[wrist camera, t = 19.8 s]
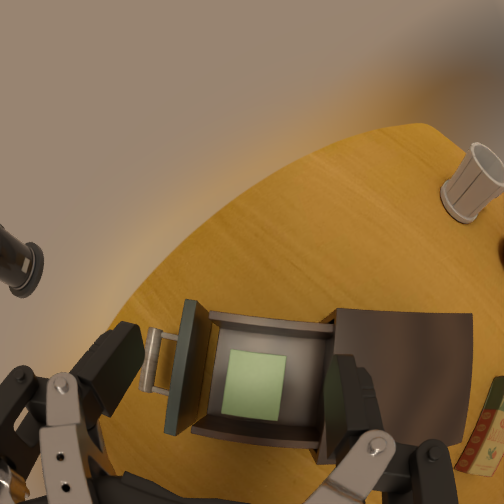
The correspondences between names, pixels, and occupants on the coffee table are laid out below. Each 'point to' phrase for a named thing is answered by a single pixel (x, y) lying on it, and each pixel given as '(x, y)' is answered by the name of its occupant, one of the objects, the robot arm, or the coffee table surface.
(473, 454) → the carton
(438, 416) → the cabinet
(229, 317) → the drawer
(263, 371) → the block
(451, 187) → the cup
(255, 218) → the coffee table surface
